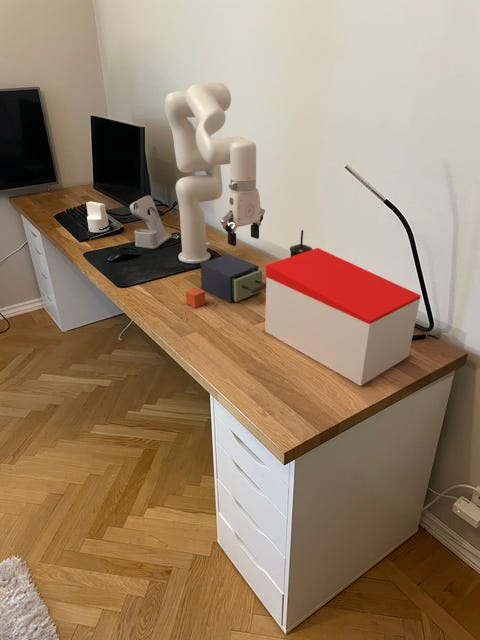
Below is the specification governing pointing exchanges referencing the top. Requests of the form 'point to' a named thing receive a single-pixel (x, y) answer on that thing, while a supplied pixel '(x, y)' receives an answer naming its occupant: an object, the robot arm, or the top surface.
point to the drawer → (247, 285)
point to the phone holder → (148, 224)
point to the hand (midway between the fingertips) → (243, 241)
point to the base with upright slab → (97, 217)
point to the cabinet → (223, 275)
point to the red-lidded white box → (339, 314)
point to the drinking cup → (299, 247)
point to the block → (195, 297)
